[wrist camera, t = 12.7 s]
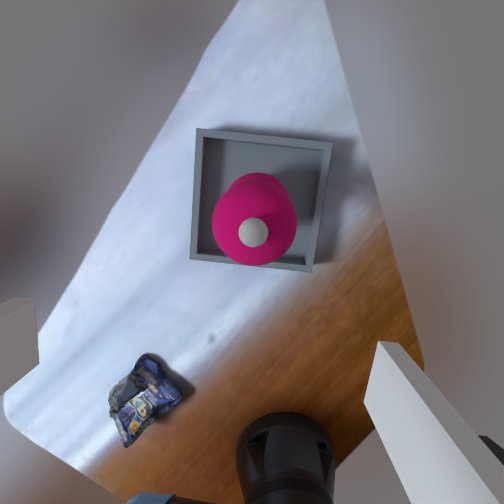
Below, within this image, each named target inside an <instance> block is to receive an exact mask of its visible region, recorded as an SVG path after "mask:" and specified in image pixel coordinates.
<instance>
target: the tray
mask: <svg viewBox="0 0 504 504" xmlns="http://www.w3.org/2000/svg"><path fill="white" fill-rule="evenodd" d="M332 147H333V143H331V142H321V141H312V140H303V139H294V138H284V137H275V136H266V135H257V134H247V133H238V132H229V131H220V130H210V129H201V128H196V147H195V166H194V185H193V205H192V224H191V243H190V259H192V260H202V261H211V262H220V263H229V264H238V265H244V264H240V263H238V262H236V261H234V260H232V259H231V258H229V257H228V256H227V255H226V254H225V253H224V252H223V251H222V250H221V249H220V247H219V246H218V244H217V242H216V240H215V237H214V234H213V228H212V218H213V213H214V209H215V206H216V204H217V202H218V200H219V199H220V198H221V196H222V195H223V194H224V193H225V192H226V191H227V190H228V189H229V188H230V186H231V185H232V184H233V183H234V182H235V181H236V180H237V179H238V178H240V177H242V176H243V175H246V174H249V173H257V172H260V173H265V174H268V175H271V176H273V177H275V178H276V179H278V180H279V181H280V182H281V183H282V184H283V186H284V187H285V188H286V190H287V192H288V195H289V198H290V200H291V202H292V204H293V206H294V208H295V211H296V215H297V230H296V235H295V238H294V241H293V243H292V245H291V246H290V248H289V249H288V250H287V251H286V253H285V254H283V255H282V256H281V257H280V258H279V259H277V260H275V261H273V262H271V263H268V264H265V265H259V266H257V267H266V268H275V269H284V270H293V271H302V272H312V268H313V262H314V256H315V250H316V244H317V238H318V231H319V225H320V219H321V213H322V207H323V201H324V195H325V189H326V183H327V177H328V171H329V165H330V159H331V153H332ZM247 266H249V265H247Z"/></svg>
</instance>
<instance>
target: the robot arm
mask: <svg viewBox="0 0 504 504" xmlns="http://www.w3.org/2000/svg"><path fill="white" fill-rule="evenodd" d="M38 364H39V351H38V335H37V319H36V302H35V300H32V299H23V298H13V299H11V300H9V301H7V302H5V303H3V304H0V396H1V395H2V394H3V393H4V392H5V391H7V390H8V389H9V388H10V387H11V386H13V385H14V384H15V383H16V382H18V381H19V380H20V379H21V378H22V377H24V376H25V375H26V374H27V373H28V372H30V371H31V370H32V369H33V368H34V367H36V366H37V365H38ZM364 404H365V406H366V408H367V410H368V412H369V414H370V417H371V419H372V421H373V423H374V425H375V427H376V429H377V431H378V434H379V436H380V438H381V440H382V442H383V444H384V446H385V448H386V451H387V453H388V455H389V457H390V459H391V461H392V463H393V466H394V468H395V470H396V472H397V474H398V476H399V478H400V480H401V483H402V484H403V487H404V489H405V491H406V493H407V495H408V497H409V500H410V501H411V504H504V449H502V448H501V447H500V446H499V445H497V444H496V443H495V442H493V441H492V440H491V439H490V438H488V437H487V436H480V435H477V434H476V433H475V432H474V431H473V430H472V428H471V427H470V426H469V425H468V424H467V423H466V421H465V420H464V419H463V418H462V417H461V416H460V414H459V413H458V412H457V411H456V410H455V409H454V407H453V406H452V405H451V404H450V403H449V402H448V401H447V399H446V398H445V397H444V396H443V395H442V393H441V392H440V391H439V390H438V389H437V388H436V386H435V385H434V384H433V383H432V382H431V381H430V379H429V378H428V377H427V376H426V375H425V374H424V372H423V371H422V370H421V369H420V368H419V366H418V365H417V364H416V363H415V362H414V361H413V359H412V358H411V357H410V356H409V355H408V354H407V352H406V351H405V350H404V349H403V348H402V347H401V345H400V344H399V343H393V342H385V341H378V345H377V349H376V353H375V357H374V362H373V366H372V370H371V374H370V378H369V382H368V386H367V390H366V395H365V399H364ZM236 468H237V473H238V477H239V481H240V485H241V489H242V493H243V497H244V501H245V504H333V494H334V481H335V468H336V461H335V454H334V450H333V446H332V443H331V440H330V437H329V435H328V434H327V432H326V431H325V430H324V429H323V428H322V427H321V426H320V425H319V424H318V423H316V422H315V421H313V420H312V419H310V418H307V417H305V416H302V415H298V414H293V413H276V414H271V415H267V416H264V417H262V418H259V419H258V420H256V421H254V422H253V423H251V424H250V425H249V426H248V427H247V428H246V429H245V430H244V431H243V433H242V434H241V436H240V438H239V441H238V445H237V454H236ZM127 504H214V503H209V502H204V501H198V500H193V499H188V498H183V497H178V496H176V494H174V493H170V494H169V495H165V494H157V493H149V492H143V493H140V494H137V495H136V496H134V497H133V498H132V499H130V500H129V501H128V502H127Z"/></svg>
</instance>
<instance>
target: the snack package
mask: <svg viewBox="0 0 504 504" xmlns="http://www.w3.org/2000/svg"><path fill="white" fill-rule="evenodd" d="M159 367H160V364H158V363H157V362H156V361H154V360H152V359H151V358H149V357H148V356H147V355H145V354H143V355H142V356H141V357H140V358H139V359H138V360H137V362H136V364H135V367H134V369H133V370H132V371H131V372H130V374H129V375H127V376H126V377H125V378H123V379H122V380H121V381H119V383H118V384H117V385H115V386H114V387H113V388H112V390H111V391H110V394H109V398H108V401H109V405H110V407H111V408H110V412H109V413H110V417H112V418H113V419H114V420H115V421H116V422H115V423H116V427H117V429H118V431H119V433H120V435H121V437H122V439H121V440H122V443H123V444H124V447H126V448H127V447H129V446H130V445H132V444H133V443H134V442H135V441H136V439H138V437H139V436H140V435H141V433H142V432H143V431H144V430H145V429H146V428H147V427H148V426H149V425H151V423H153V422H154V421H155V420H156V419H158V418H160V417H161V416H162V415H165V414H166V413H168V412H169V411H170V410H171V409H172V408H173V407H174V406H176V405H177V404H178V403H179V402H180V400H181V397H182V392H180V391H179V390H178V389H177V388H176V387H174V386H173V385H172V383H171V382H170V381H169V380H168V378H167V377H166V375H165V373H164V371H161V370H162V369H161V370H160V368H159ZM141 391H142V392H144V391H145V393H144V394H142V395H141V396H140V397H138V398H136V399H133V398H134V397H135V396H136V395H138V394H139V393H140V392H141ZM131 399H133V400H131ZM130 400H131V401H130Z"/></svg>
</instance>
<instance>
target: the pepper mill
mask: <svg viewBox="0 0 504 504" xmlns="http://www.w3.org/2000/svg"><path fill="white" fill-rule="evenodd" d="M212 228H213V234H214V237H215V240H216V242H217V244H218V246H219V247H220V249H221V250H222V251H223V252H224V253H225V254H226V255H227V256H228V257H229V258H231V259H232V260H234V261H236V262H238V263H240V264H244V265H249V266H259V265H265V264H268V263H271V262H273V261H275V260H277V259H279V258H280V257H281V256H282V255H283V254H285V253H286V251H287V250H288V249H289V248H290V246H291V245H292V243H293V241H294V238H295V235H296V230H297V215H296V211H295V208H294V206H293V204H292V202H291V200H290V198H289V195H288V192H287V190H286V188H285V187H284V186H283V184H282V183H281V182H280V181H279V180H278V179H276V178H275V177H273V176H271V175H268V174H265V173H260V172H257V173H249V174H246V175H243V176H242V177H240V178H238V179H237V180H236V181H235V182H234V183H233V184H232V185H231V186H230V188H229V189H228V190H227V191H226V192H225V193H224V194H223V195H222V196H221V198H220V199H219V200H218V202H217V204H216V206H215V209H214V213H213V218H212Z"/></svg>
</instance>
